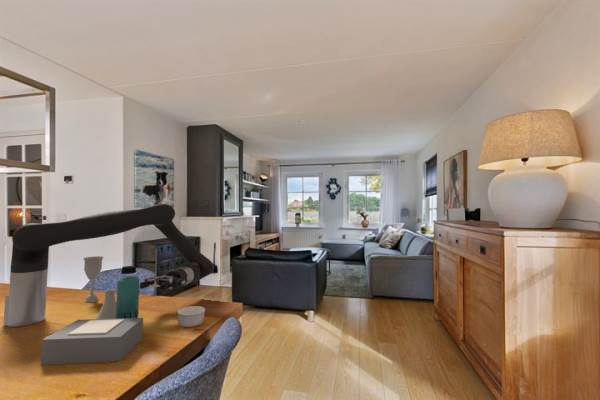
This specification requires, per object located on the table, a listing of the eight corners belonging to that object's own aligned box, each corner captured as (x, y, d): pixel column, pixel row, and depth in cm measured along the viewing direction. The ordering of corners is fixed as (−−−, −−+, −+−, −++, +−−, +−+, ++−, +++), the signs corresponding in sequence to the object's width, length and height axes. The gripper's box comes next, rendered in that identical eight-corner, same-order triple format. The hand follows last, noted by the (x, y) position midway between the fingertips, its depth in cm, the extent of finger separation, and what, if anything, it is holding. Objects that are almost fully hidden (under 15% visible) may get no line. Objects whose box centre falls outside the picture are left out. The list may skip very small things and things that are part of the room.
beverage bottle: (120, 335, 85) (123, 268, 86) (110, 330, 88) (113, 266, 89) (142, 327, 90) (144, 265, 91) (131, 323, 94) (134, 263, 95)
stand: (40, 364, 68) (42, 337, 68) (76, 340, 81) (78, 318, 81) (119, 361, 70) (120, 335, 70) (142, 338, 83) (143, 316, 83)
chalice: (92, 303, 114) (95, 259, 115) (76, 303, 114) (78, 258, 115) (105, 298, 121) (107, 256, 122) (90, 297, 122) (92, 256, 122)
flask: (108, 324, 93) (109, 294, 93) (90, 322, 94) (92, 292, 95) (126, 316, 100) (127, 288, 101) (109, 315, 101) (110, 287, 102)
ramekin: (193, 316, 102) (193, 304, 102) (210, 321, 97) (210, 308, 97) (171, 324, 94) (171, 311, 94) (188, 330, 89) (189, 316, 90)
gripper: (165, 267, 117) (134, 274, 101) (195, 269, 114) (168, 277, 98) (164, 285, 117) (133, 295, 101) (194, 287, 113) (167, 299, 98)
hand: (150, 286), depth 100 cm, fingers open, 8 cm apart
